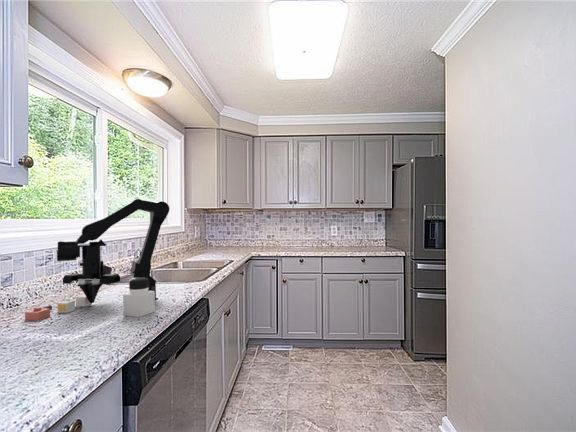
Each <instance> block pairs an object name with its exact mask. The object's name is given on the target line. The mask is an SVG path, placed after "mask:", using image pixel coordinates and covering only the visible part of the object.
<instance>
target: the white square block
mask: <svg viewBox="0 0 576 432" xmlns="http://www.w3.org/2000/svg"><path fill="white" fill-rule="evenodd" d="M92 304H93V303H90V302H89V300H88V299H87V297H86V295H85V294H81V295H79V296H75V307H88V306H90V305H92Z"/></svg>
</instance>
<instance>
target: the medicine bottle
mask: <svg viewBox="0 0 576 432" xmlns="http://www.w3.org/2000/svg"><path fill="white" fill-rule="evenodd" d="M148 289H149V280H148V278H144V277H140V278H131V279H129V281H128V291H129V292H126V293H123V295H122V299H123V300H122V305H123V310H122V311H123V312H122V313H123V316H124V317H125V316H126V317H134V318H135V317H136V318H141V317H145V316H147V315H149V314H152V313H155V311H156V301H155V292H154V291H148Z"/></svg>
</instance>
